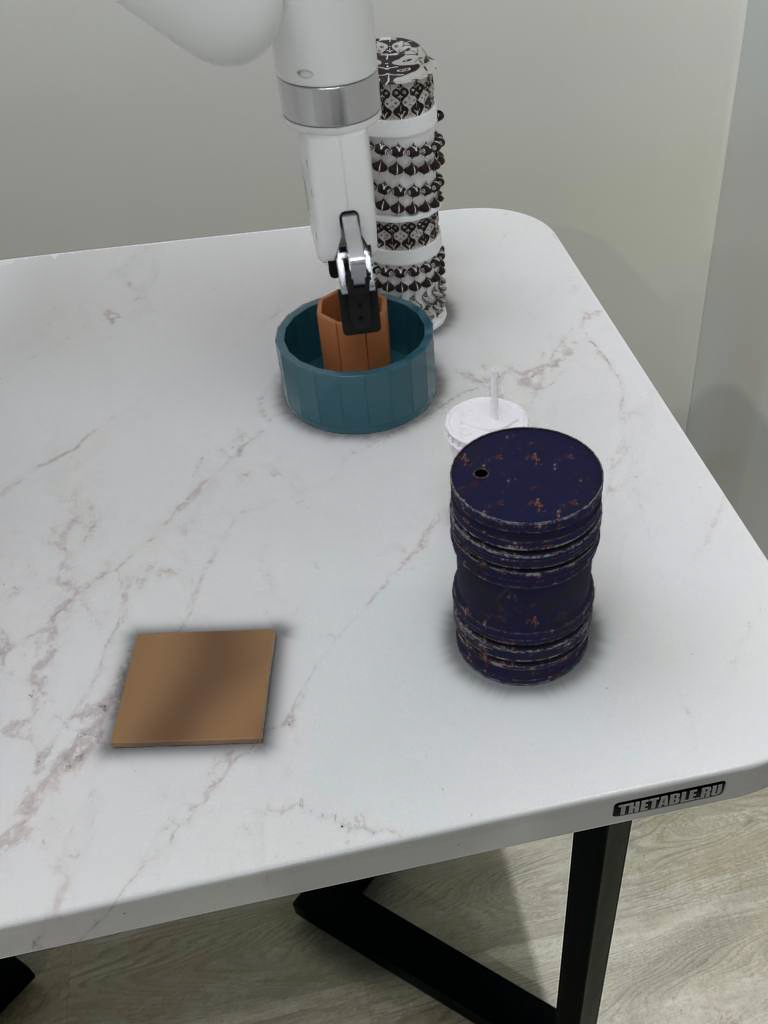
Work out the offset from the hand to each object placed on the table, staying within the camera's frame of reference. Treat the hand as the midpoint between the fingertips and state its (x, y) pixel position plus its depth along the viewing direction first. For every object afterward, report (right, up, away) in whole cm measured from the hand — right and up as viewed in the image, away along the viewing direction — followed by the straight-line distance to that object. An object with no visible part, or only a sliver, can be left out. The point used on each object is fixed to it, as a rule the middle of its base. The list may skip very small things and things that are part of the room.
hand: (354, 302), depth 92 cm
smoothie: (+12, -20, -6) cm, 24 cm away
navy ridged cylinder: (+14, -29, -15) cm, 36 cm away
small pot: (0, -6, +6) cm, 8 cm away
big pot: (0, -6, +6) cm, 9 cm away
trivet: (-9, -33, -18) cm, 39 cm away
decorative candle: (+3, +4, +15) cm, 16 cm away
